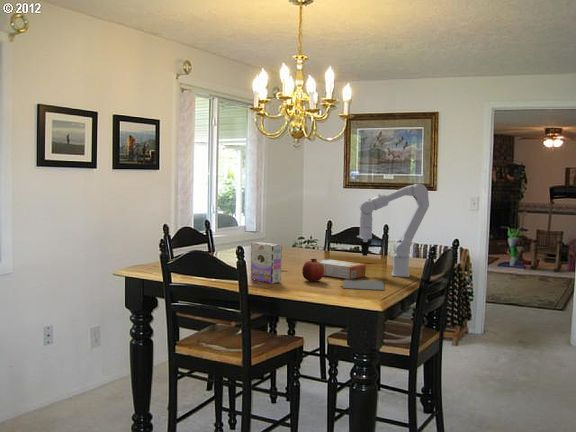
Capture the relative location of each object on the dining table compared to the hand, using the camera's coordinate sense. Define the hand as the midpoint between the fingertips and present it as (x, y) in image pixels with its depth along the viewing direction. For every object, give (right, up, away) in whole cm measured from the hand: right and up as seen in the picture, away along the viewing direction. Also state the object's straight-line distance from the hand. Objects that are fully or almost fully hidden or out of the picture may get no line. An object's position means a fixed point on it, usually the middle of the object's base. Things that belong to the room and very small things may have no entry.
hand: (364, 255), depth 288 cm
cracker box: (-4, -7, -11) cm, 13 cm away
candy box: (-46, -10, -24) cm, 53 cm away
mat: (-4, -11, -27) cm, 29 cm away
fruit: (-25, -10, -21) cm, 35 cm away
